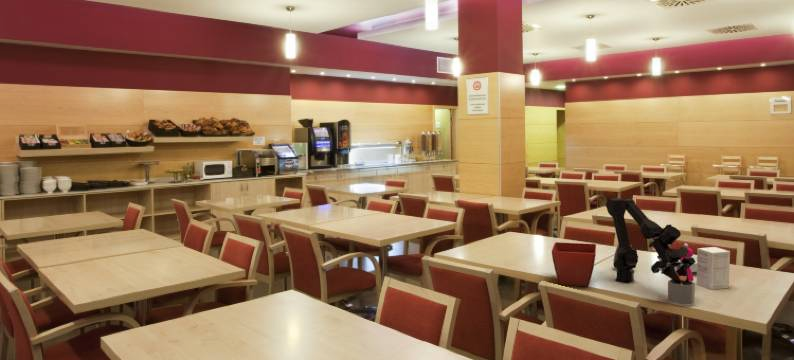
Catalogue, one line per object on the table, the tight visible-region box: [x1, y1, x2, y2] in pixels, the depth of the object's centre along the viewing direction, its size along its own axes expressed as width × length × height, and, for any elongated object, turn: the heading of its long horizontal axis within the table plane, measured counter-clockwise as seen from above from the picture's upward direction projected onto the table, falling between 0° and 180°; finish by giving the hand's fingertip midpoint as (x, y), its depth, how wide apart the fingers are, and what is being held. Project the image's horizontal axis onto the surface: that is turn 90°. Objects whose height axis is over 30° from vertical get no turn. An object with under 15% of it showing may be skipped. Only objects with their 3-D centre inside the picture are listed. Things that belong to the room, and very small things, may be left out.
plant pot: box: [551, 241, 597, 287], centre depth 249 cm, size 19×19×17 cm
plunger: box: [678, 275, 687, 285], centre depth 218 cm, size 7×7×8 cm
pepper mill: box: [676, 243, 694, 282], centre depth 237 cm, size 7×7×20 cm
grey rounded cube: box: [667, 278, 696, 307], centre depth 219 cm, size 10×10×8 cm
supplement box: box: [696, 246, 731, 290], centre depth 238 cm, size 10×9×17 cm
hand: (684, 282), depth 217 cm, fingers closed on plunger, 4 cm apart
